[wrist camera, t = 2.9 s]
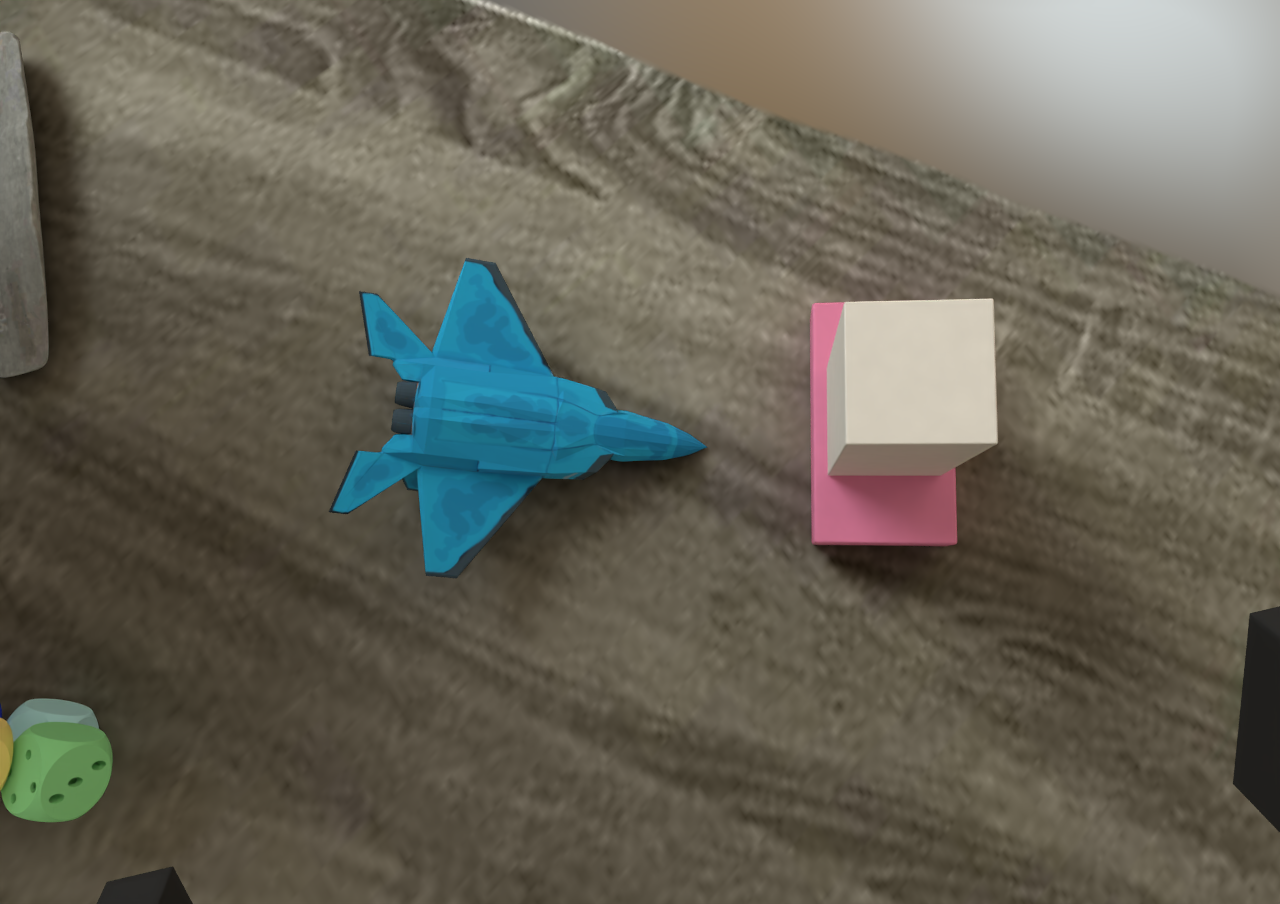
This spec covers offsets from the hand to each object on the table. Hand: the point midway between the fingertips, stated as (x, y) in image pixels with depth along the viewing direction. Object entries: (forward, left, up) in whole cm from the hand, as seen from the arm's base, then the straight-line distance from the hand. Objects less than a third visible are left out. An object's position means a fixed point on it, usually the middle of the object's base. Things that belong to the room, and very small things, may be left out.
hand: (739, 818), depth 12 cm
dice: (-14, -22, -22) cm, 34 cm away
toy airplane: (-11, -2, -22) cm, 25 cm away
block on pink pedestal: (-3, +8, -22) cm, 23 cm away
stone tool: (-34, -14, -22) cm, 43 cm away
